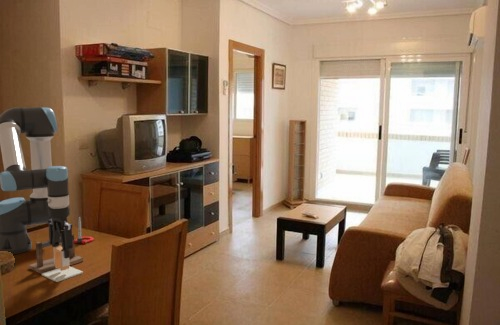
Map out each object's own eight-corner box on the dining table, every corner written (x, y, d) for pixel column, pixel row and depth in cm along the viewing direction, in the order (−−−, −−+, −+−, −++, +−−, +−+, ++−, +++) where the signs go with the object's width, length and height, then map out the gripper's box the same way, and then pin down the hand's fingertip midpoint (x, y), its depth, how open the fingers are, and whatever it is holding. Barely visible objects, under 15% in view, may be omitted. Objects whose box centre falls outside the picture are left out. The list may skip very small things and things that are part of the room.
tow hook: (81, 238, 216) (70, 243, 207) (80, 213, 215) (70, 217, 206) (96, 239, 215) (87, 244, 206) (96, 214, 214) (86, 218, 205)
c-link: (55, 267, 170) (53, 248, 169) (62, 265, 173) (61, 246, 172) (62, 270, 167) (61, 250, 166) (69, 268, 170) (68, 248, 169)
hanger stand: (29, 268, 176) (27, 241, 174) (70, 256, 190) (68, 230, 188) (42, 274, 170) (40, 246, 168) (83, 261, 184) (82, 235, 183)
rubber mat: (41, 275, 169) (41, 273, 169) (67, 266, 178) (67, 265, 178) (56, 282, 163) (56, 280, 163) (83, 273, 172) (83, 271, 171)
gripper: (37, 204, 169) (40, 261, 172) (62, 211, 158) (65, 272, 161) (55, 201, 175) (58, 256, 178) (81, 208, 164) (83, 266, 167)
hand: (61, 263), depth 170 cm, fingers closed on c-link, 5 cm apart
